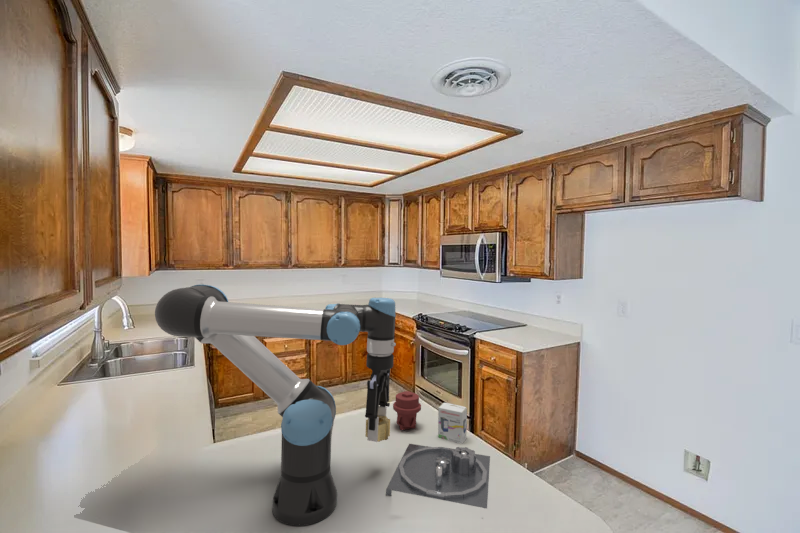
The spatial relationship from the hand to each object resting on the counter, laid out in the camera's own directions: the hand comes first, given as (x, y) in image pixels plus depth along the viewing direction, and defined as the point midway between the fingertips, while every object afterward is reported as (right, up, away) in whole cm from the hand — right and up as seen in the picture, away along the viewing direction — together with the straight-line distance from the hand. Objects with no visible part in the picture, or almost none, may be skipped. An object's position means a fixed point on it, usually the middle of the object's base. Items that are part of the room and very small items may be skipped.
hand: (376, 434), depth 107 cm
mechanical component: (+9, -10, +29) cm, 32 cm away
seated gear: (+24, -10, 0) cm, 26 cm away
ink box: (+24, -11, +19) cm, 32 cm away
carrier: (+18, -11, -1) cm, 21 cm away
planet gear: (0, 0, 0) cm, 0 cm away
